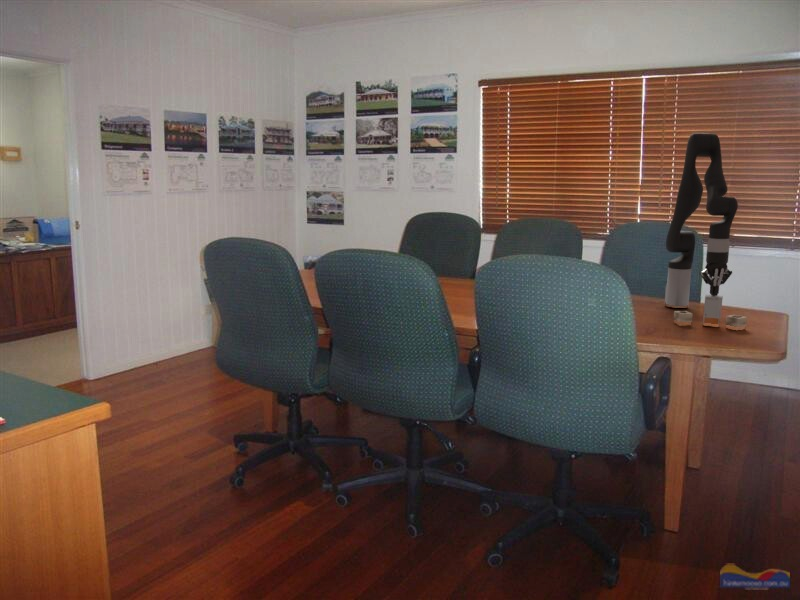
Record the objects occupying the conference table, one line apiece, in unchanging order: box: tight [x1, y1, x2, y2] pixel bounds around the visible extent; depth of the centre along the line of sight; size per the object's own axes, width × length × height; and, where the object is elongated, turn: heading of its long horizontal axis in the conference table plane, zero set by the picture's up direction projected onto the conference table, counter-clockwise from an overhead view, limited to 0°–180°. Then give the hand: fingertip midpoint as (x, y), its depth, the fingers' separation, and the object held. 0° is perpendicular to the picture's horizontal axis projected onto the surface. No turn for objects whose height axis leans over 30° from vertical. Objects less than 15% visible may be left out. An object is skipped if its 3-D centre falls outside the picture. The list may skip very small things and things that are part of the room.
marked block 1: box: [673, 310, 693, 323], centre depth 260 cm, size 5×5×5 cm
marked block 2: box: [725, 314, 748, 327], centre depth 252 cm, size 5×5×5 cm
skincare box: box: [702, 294, 724, 325], centre depth 256 cm, size 6×4×12 cm
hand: (713, 295), depth 255 cm, fingers closed
